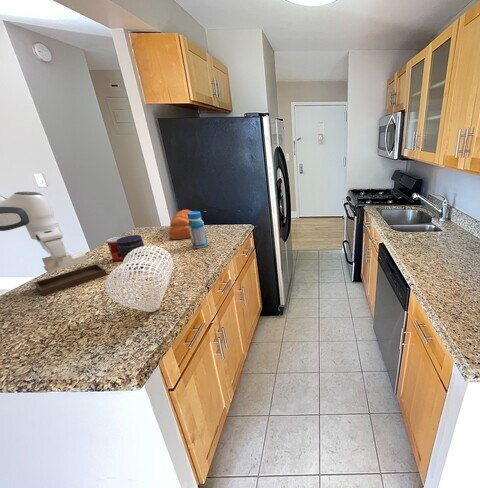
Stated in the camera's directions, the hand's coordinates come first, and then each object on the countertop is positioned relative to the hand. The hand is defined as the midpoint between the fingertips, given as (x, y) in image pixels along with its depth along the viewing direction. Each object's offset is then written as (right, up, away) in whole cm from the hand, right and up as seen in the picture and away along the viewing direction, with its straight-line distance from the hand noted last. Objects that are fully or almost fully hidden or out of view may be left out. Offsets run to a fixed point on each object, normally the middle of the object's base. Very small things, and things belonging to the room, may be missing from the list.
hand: (59, 262), depth 110 cm
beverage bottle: (+39, +7, +43) cm, 58 cm away
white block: (+1, -1, +2) cm, 3 cm away
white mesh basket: (+50, -16, -15) cm, 55 cm away
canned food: (+6, 0, +27) cm, 27 cm away
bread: (+18, +16, +66) cm, 71 cm away
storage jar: (+21, -4, +17) cm, 27 cm away
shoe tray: (+1, -8, +5) cm, 10 cm away
